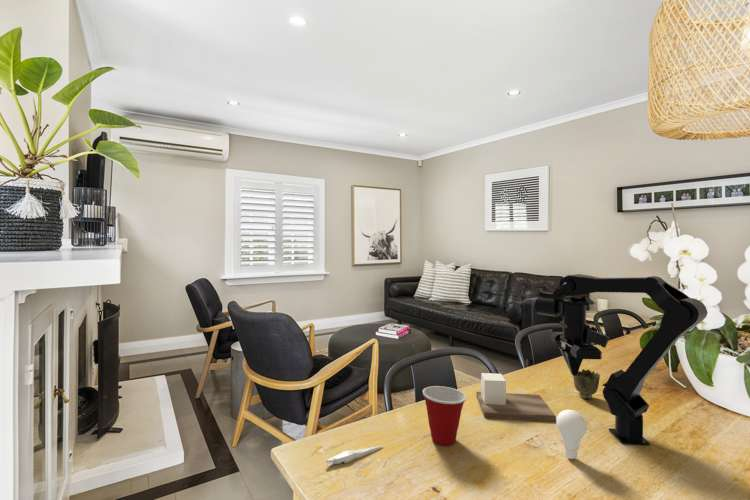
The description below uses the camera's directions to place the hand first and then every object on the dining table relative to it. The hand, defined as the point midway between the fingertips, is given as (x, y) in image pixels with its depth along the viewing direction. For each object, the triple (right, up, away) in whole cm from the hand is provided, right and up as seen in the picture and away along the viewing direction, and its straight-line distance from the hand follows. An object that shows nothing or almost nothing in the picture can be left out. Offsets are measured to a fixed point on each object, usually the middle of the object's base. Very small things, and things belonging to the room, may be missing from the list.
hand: (574, 375), depth 105 cm
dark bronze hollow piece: (+11, -12, +13) cm, 20 cm away
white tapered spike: (-60, -13, -19) cm, 64 cm away
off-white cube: (-20, -10, +8) cm, 24 cm away
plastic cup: (-39, -12, -12) cm, 42 cm away
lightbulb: (-11, -13, -20) cm, 26 cm away
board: (-15, -12, +6) cm, 20 cm away
